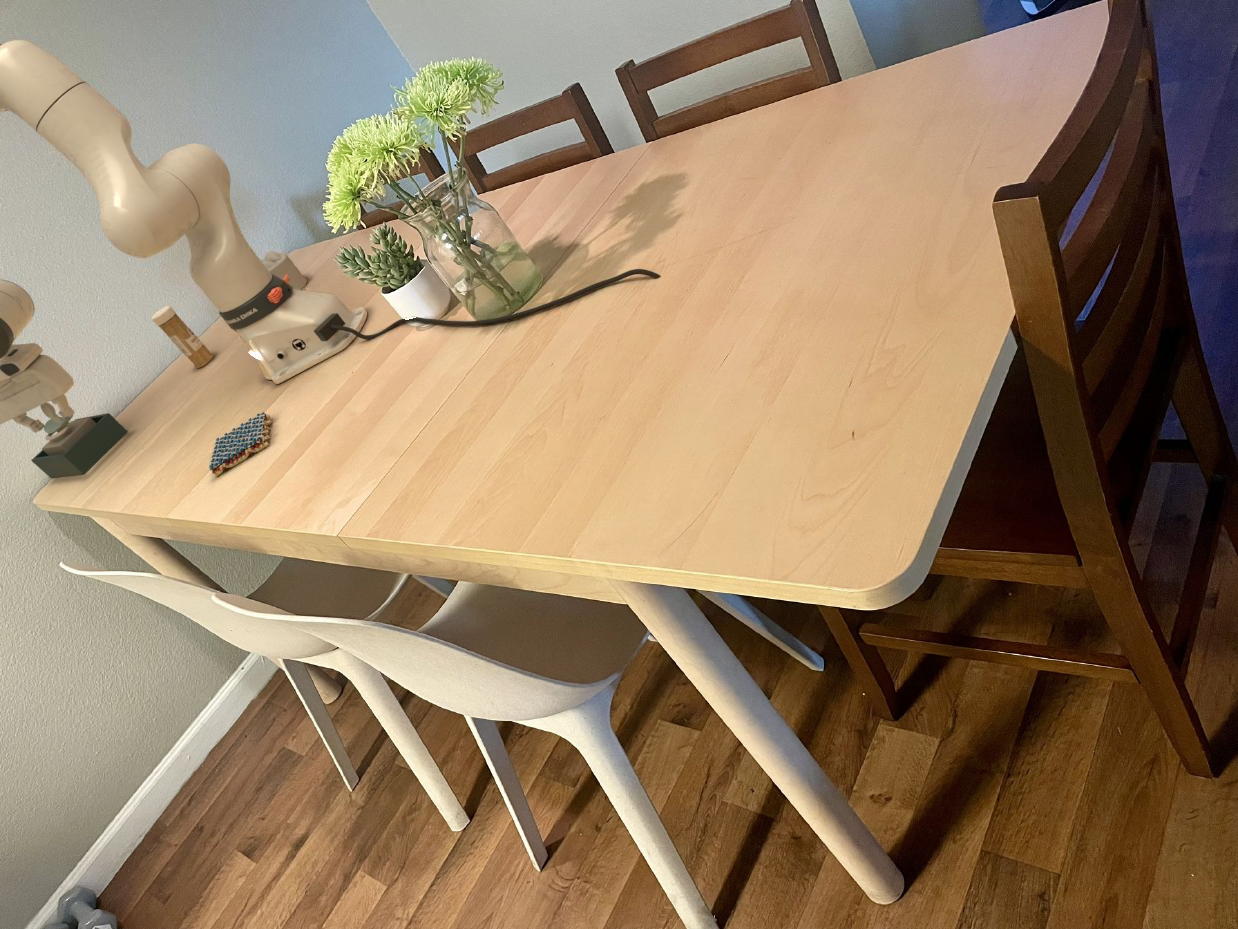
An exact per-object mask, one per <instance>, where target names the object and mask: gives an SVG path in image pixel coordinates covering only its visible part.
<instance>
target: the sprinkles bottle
mask: <svg viewBox="0 0 1238 929" xmlns="http://www.w3.org/2000/svg"><path fill="white" fill-rule="evenodd" d="M151 321H153V323H154V324H155V325H156V326H158V328H160V329H161V331H163V332H164V333H165V335H166V336H167V337H168V339H169V340H171V342H172V343H173V344H174V345H175V346H176V347H177V349H178V350H180V352H181V353H182V354H183V355H184V356H185V357H186V358H188V360H189V361H190V362H191V363H192V364H193V365H194V367H195V368H196V369H198V368H202V367H204V366H206V365H208V364H209V362H211V360H212V359H213V358H214V353H212V352H211V351H210V350H209V349H208V347H207V346H206V345H205V344H204V343H203V342H202V341H201V339H200V338H199V337H198V335H196V334H195V333H194V331H193V330H192V329H191V328H190V327H189V326H187V324H186V323H185V322H184V321H183V319H181V317H179V315H178V314H177V312H176V310H175V309H174V308H173V307H172V306H171V305H166V306H164V307H162V308H160V309H159V310H158V311H156V312H155V313H154V314H153V315H152V316H151Z"/></svg>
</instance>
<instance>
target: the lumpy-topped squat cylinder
mask: <svg viewBox="0 0 1238 929" xmlns="http://www.w3.org/2000/svg"><path fill="white" fill-rule="evenodd" d="M260 260H261V259H260ZM261 262H262V263H263V264H264V266H265V267H266V268H267V269H268V271H269V272H270V273H271V274H273V275H275V276H277V277H279V278H280V279H283V278H284V276H285V275H286V274H288V277H287V280H288V279H289V278H290V277H291V279H290V280H289V282H288V284H289V285H291V286H292V287H293V289H298V290H303V289H304V287H305V286H306V285H307V284H308V282H307V280H308V279H307V278H305V276H304V274H302V272H301V271H300V270H299V268H298V267H297V266H296V264H295V263H294V262H293V261H292V259H291V258H290V257H289V256H288V254H287V253H285V252H276V251H274V250H269V251H268V252H266V253H265V254H264V258H263V259H262V260H261Z"/></svg>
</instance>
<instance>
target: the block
mask: <svg viewBox="0 0 1238 929" xmlns="http://www.w3.org/2000/svg"><path fill="white" fill-rule="evenodd" d="M84 418H85V417H84ZM79 419H80V418H79ZM74 420H75V419H74ZM74 420H70V421H69V423H70V424H71V426H70V427H69V428H68V430H67V431H66V432H65V433H64V434H62V435H61V436H59V437H57V438H55V439H53V440H48V442H47V443H46V444H44V445H43V446H42V447H41V451H42V450H43V451H44V452H46V453H47V454H48V455H49V456H52V455H59V454H65V453H66V452H67V451H68V450H69V449H70V448H71V447H72V446H73V445H74V444H75V443H76V442H77V441H78V440H80V439H81V438H82V437H83V436H84V435H85V434H86V433H87V432H88V431H89V430H90V429H91V428H92V427H93V426H94V425H95V424H96V423H95V422H94V421H93V420H92V419H91V418H85V419H80V420H75V421H74Z"/></svg>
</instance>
